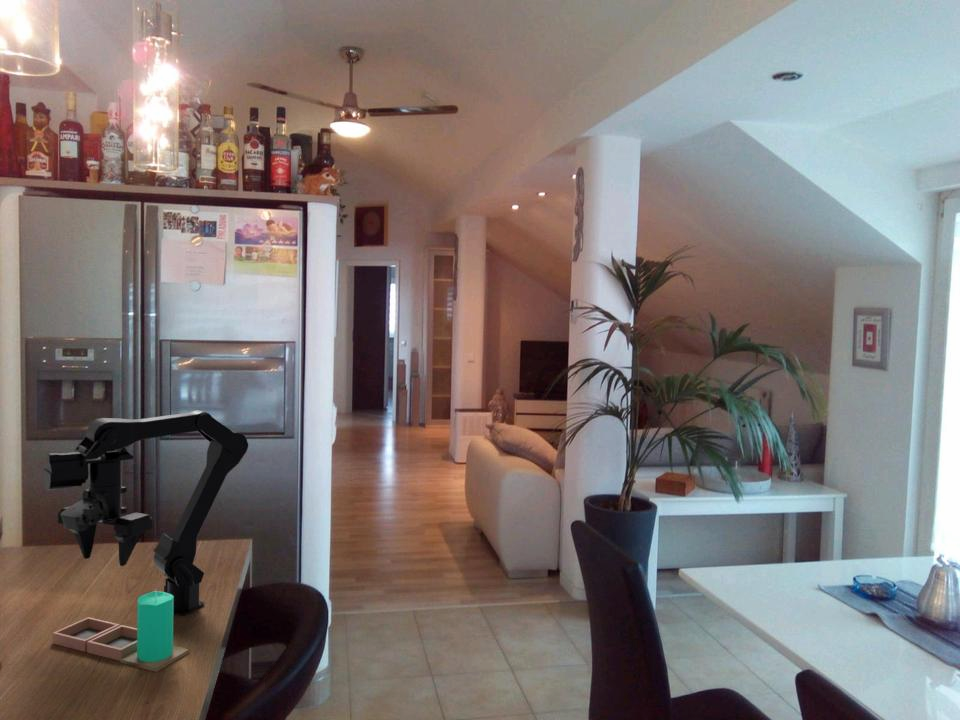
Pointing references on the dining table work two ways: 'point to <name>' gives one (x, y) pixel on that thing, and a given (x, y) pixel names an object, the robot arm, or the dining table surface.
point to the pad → (154, 665)
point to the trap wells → (98, 638)
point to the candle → (155, 626)
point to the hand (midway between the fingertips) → (104, 561)
